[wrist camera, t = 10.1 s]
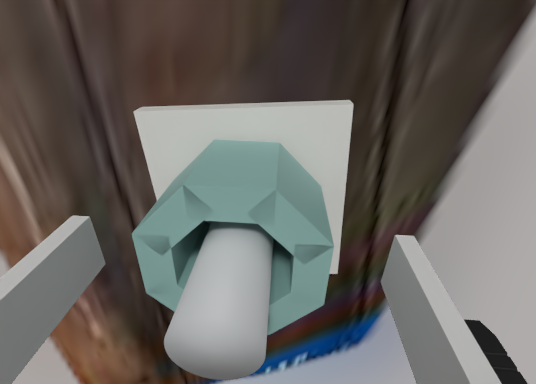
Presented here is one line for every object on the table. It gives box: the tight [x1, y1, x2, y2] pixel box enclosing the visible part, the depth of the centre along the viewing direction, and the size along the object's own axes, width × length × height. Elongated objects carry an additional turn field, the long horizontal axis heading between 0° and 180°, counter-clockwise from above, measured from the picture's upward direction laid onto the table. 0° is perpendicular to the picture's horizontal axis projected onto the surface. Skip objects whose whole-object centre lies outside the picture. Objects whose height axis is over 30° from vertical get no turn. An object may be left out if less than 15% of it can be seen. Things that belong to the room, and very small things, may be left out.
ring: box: [132, 140, 334, 335], centre depth 14 cm, size 8×8×5 cm
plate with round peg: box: [133, 100, 353, 380], centre depth 13 cm, size 11×11×10 cm
